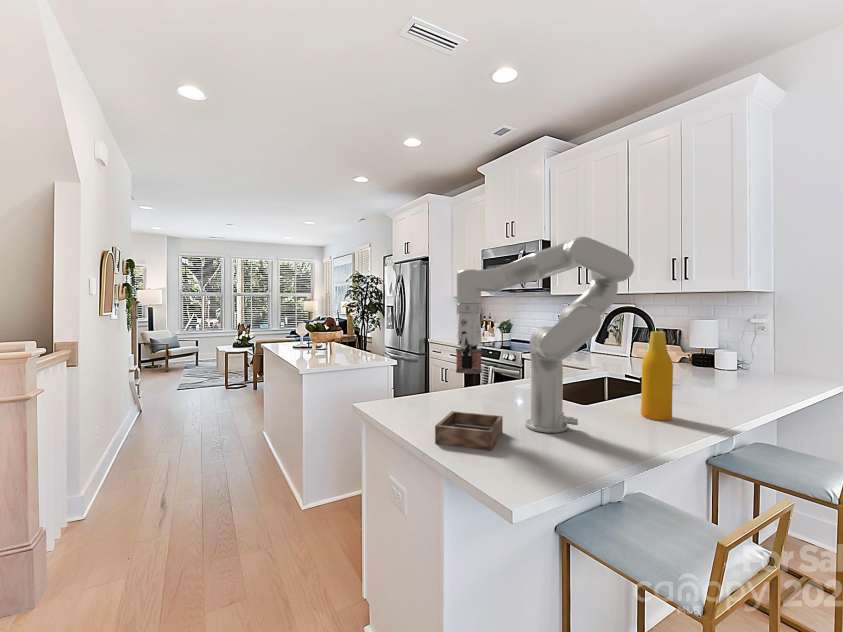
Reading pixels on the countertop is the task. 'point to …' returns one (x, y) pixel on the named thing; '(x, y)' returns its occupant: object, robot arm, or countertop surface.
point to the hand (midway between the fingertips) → (469, 366)
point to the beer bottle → (657, 380)
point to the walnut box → (469, 430)
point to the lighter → (475, 360)
